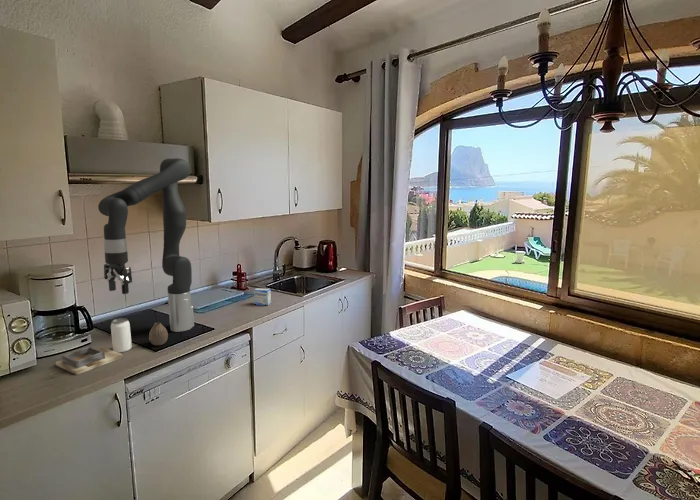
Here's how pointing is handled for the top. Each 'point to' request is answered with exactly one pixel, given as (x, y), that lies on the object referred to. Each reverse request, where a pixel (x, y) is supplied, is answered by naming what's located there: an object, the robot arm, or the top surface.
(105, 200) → the robot arm
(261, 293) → the medicine box
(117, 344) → the can
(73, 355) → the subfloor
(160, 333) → the vase
